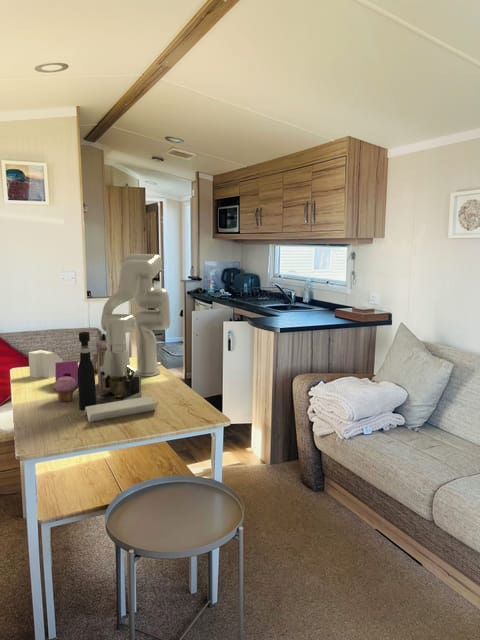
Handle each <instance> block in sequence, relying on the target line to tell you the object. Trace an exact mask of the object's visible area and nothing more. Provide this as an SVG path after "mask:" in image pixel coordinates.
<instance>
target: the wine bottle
mask: <svg viewBox="0 0 480 640" xmlns="http://www.w3.org/2000/svg"><path fill="white" fill-rule="evenodd" d="M90 339H91V338H90V331H80V332H78V342H79V343H80V344H81V345H80V346H81V347H80V352H79V357H80V358H79V359H80V360H79V362H78V373H77V374H78V388H77V389H78V391H77V392H78V405H79V407H78V408H79V410H80V411H82V412H84V411H85V407H87V406H93V405H97V403H96V396H97V391H96V388H97V387H96V371H95V370H94V367H93V364H92V361H91V360H92V359H91V352H90V347H89V342H90V341H91V340H90Z"/></svg>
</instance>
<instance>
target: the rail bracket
mask: <svg viewBox="0 0 480 640" xmlns="http://www.w3.org/2000/svg"><path fill="white" fill-rule="evenodd" d="M114 377H115V378H116V379H117V376H113V378H114ZM123 377H124V376H123ZM127 377H128V376H127ZM118 378H119V377H118ZM124 379H125V378H124ZM141 380H142V376H137V375H135V377H134V378H133V379H132V380H131V385H132V387H131V389H130V390H128V391H125V393H123V397H122V398H115V397H114V395H115V394H113V393H112V392H111V390H110V391H108V392H105V393H103V394H101V393H100V394H99V395H96V404H105V403H111V402H117V401H123V400H129V399H135V398H141V397H142V381H141Z"/></svg>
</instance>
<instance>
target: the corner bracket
mask: <svg viewBox="0 0 480 640" xmlns="http://www.w3.org/2000/svg"><path fill="white" fill-rule="evenodd" d="M59 362H64V359H62V358H61V357H59V355H58V354H56V353H55V351H54V352H52V351H49V350H43V349H39V350H35V351H33V350H32V351H29V352H28V364H29V365H28V366H29V377H31V378H34V379H38V378H45V379H52V378H56V364H55V363H59Z"/></svg>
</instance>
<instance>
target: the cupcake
mask: <svg viewBox="0 0 480 640" xmlns="http://www.w3.org/2000/svg"><path fill="white" fill-rule="evenodd" d="M53 387H54V390H56V392H57V399H58V401H59V402H71V401H72V400H73V396H74V392H75V390H74V389H75V388H76V387H77V382H76V380H75V379H74V378H72V377H68V376H65V377H61V378H59V379H58V380H57V381H56V380H55V382H54V384H53Z"/></svg>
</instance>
